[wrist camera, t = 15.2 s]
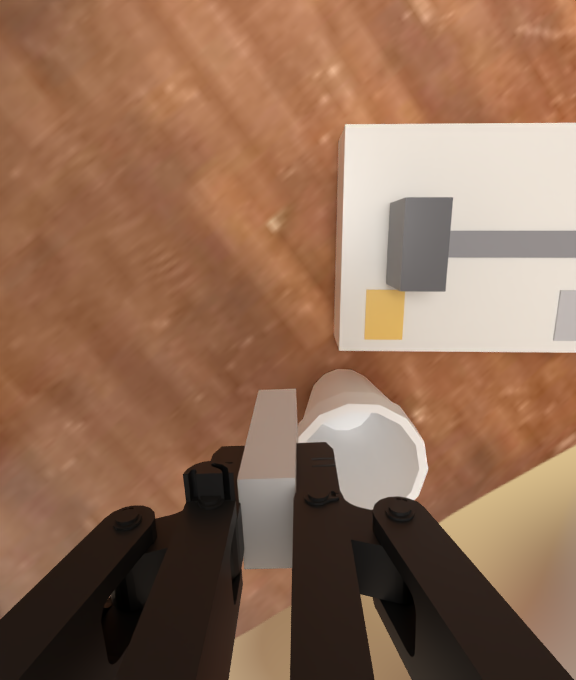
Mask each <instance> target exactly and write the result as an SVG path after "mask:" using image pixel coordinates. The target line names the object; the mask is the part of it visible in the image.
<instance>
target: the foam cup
mask: <svg viewBox="0 0 576 680" xmlns="http://www.w3.org/2000/svg"><path fill="white" fill-rule="evenodd" d="M311 442H326V443H327V444H328V445H329V446H330V447H331V448H333V451H334V457H335V463H336V469H337V475H338V481H339V487H340V491H341V493H342V495H343V497H344V499H345V500H346V501H347V502H349V503H350V504H353V505H355V506H357V507H361V508H365V509H370V510H373V507H374V504H375V503H377V502H378V501H379V500H380V499H383V498H387V497H396V496H399V497H405V498H409V499H412V500H415V499H416V498H417V497H418V496H419V493H420V490H421V488H422V485H423V482H424V480H425V477H426V474H427V471H428V465H427V458H426V451H425V444H424V441H423V439H422V437H421V436H420V434H419V432H418V431H417V429H416V427H415V426H414V425H413V423H412V422H411V421H410V419H409V418H408V417H407V415H406V414H405V413H404V411H403V410H402V408H401V407H400V406H399V405H397V404H395V403H393V402H391V401H390V400H389V399H388V398H387V397H386V396H385V395H384V394H383V393H382V392H381V391H380V390H379V389H378V388H376V387H375V386H374V385H373V384H372V383H371V382H370V381H369V380H368V379H367V378H366V377H365V376H363V375H361V374H359V373H357V372H355V371H353V370H350V369H336V370H333V371H331V372H329V373H326V374H324V375H323V376H322V377H321V378H320V379H319V380H318V381H317V382H316V383H315V384H314V386H313V389H312V392H311V395H310V398H309V401H308V404H307V408H306V411H305V414H304V417H303V419H302V420H301V421H300V422H299V424H298V443H311Z"/></svg>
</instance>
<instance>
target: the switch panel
mask: <svg viewBox="0 0 576 680" xmlns="http://www.w3.org/2000/svg"><path fill="white" fill-rule="evenodd" d="M405 197H453V206H452V218H451V230H450V242H449V255H448V267H447V279H446V291H445V292H416V291H398V290H397V289H395V288H393V287H391V286H389V285H388V284H386V275H387V255H388V236H389V216H390V203H392V202H394V201H397V200H400V199H402V198H405ZM334 337H335V340H336V343H337V346H338V349H339V351H440V352H575V353H576V123H481V124H345V127H344V129H343V132H342V134H341V136H340V139H339V142H338V182H337V223H336V263H335V304H334Z"/></svg>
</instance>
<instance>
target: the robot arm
mask: <svg viewBox="0 0 576 680" xmlns="http://www.w3.org/2000/svg"><path fill="white" fill-rule="evenodd" d="M183 478H184V487H185V496H186V504H185V506H184V509H183V511H181V512H179V513H176V514H173V515H169V516H165V517H161V518H157V519H155V514H154V511H153V510H152V509H151V508H149V507H145V506H129V507H124V508H122V509H119V510H117V511H115V512H113V513H111V514H110V515H109V516H107V517H106V518H105V519H104V520H103V521H102V522H101V523H100V524H99V525H97V526H96V527H95V528H94V529H93V530H92V531H91V532H90V533H89V534H88V535H87V536H86V537H85V538H84V539H83V540H82V541H81V542H80V543H79V544H78V545H77V546H76V547H75V548H74V549H73V550H72V551H71V552H70V553H69V554H68V555H67V556H66V557H64V558H63V559H62V560H61V561H60V562H59V563H58V564H57V565H56V566H55V567H54V568H53V569H52V570H51V571H50V572H49V573H48V574H47V575H46V576H45V577H44V578H43V579H42V580H41V581H40V582H39V583H38V584H37V585H36V586H35V587H34V588H32V589H31V590H30V591H29V592H28V593H27V594H26V595H25V596H24V597H23V598H22V599H21V600H20V601H19V602H18V603H17V604H16V605H15V606H14V607H13V608H12V609H11V610H10V611H9V612H8V613H7V614H6V615H5V616H4V617H3V618H2V619H0V680H228V679H229V672H230V665H231V659H232V652H233V645H234V639H235V632H236V626H237V619H238V612H239V606H240V599H241V592H242V586H243V581H242V569H241V567H242V561H243V557H244V569H271V568H292V607H291V608H292V609H291V664H290V680H374V674H373V668H372V662H371V656H370V651H369V644H368V639H367V633H366V627H365V621H364V615H363V609H362V603H361V598H360V594H362V595H366V596H370V597H373V601H374V605H375V608H376V609H377V611H378V614H379V615H380V617H381V619H382V622H383V623H384V625H385V627H386V629H387V631H388V633H389V635H390V637H391V639H392V641H393V643H394V645H395V647H396V649H397V651H398V653H399V655H400V657H401V659H402V661H403V663H404V665H405V667H406V669H407V670H408V673H409V675H410V677H411V679H412V680H574V679H573V678H572V677H571V676H570V675H569V673H568V672H567V671H566V670H565V669H564V668H563V667H562V665H561V664H560V663H559V662H558V661H557V660H556V658H555V657H554V656H553V655H552V654H551V653H550V651H549V650H548V649H547V648H546V647H545V646H544V645H543V643H542V642H541V641H540V640H539V639H538V638H537V637H536V635H535V634H534V633H533V632H532V631H531V630H530V628H529V627H528V626H527V625H526V624H525V623H524V622H523V620H522V619H521V618H520V617H519V616H518V615H517V613H516V612H515V611H514V610H513V609H512V608H511V607H510V605H509V604H508V603H507V602H506V601H505V600H504V598H503V597H502V596H501V595H500V594H499V593H498V592H497V591H496V589H495V588H494V587H493V586H492V585H491V584H490V582H489V581H488V580H487V579H486V578H485V577H484V575H483V574H482V573H481V572H480V571H479V570H478V569H477V567H476V566H475V565H474V564H473V563H472V562H471V560H470V559H469V558H468V557H467V556H466V555H465V554H464V552H462V550H461V549H460V548H459V547H458V546H457V544H456V543H455V542H454V541H453V540H452V539H451V538H450V536H449V535H448V534H447V533H446V532H445V531H444V529H442V527H441V526H440V525H439V524H438V522H437V521H436V520H435V519H434V518H433V517H432V516H431V514H430V513H429V512H428V511H427V510H426V509H425V508H424V507H423V506H422V505H421V504H420V503H418V502H417V501H414V500H412V499H409V498H405V497H399V496H396V497H387V498H383V499H380V500H379V501H378V502H377V503H375V504H374V507H373V510H370V509H365V508H361V507H357V506H355V505H353V504H350V503H349V502H347V501H346V500H345V499H344V497H343V495H342V493H341V491H340V487H339V481H338V475H337V469H336V463H335V457H334V451H333V448H331V447H330V446H329V445H328V444H327V443H326V442H311V443H298V424H297V402H296V389H274V390H259V391H258V395H257V399H256V403H255V407H254V411H253V416H252V420H251V424H250V428H249V432H248V436H247V440H246V445H245V446H225V447H221V448H220V449H219V450H218V451H216V452H215V453H214V454H213V456H212V459H211V461H207V462H202V463H199V464H196V465H193V466H192V467H190V468H188V469H187V470H186V471H185V473H184V474H183ZM110 595H111V596H110ZM109 596H110V598H109ZM108 598H109V599H108Z"/></svg>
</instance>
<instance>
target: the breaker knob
mask: <svg viewBox="0 0 576 680" xmlns="http://www.w3.org/2000/svg"><path fill="white" fill-rule="evenodd" d="M452 206H453V197H405V198H402V199H400V200H397V201H394V202H392V203H390V216H389V236H388V255H387V275H386V284H388V285H389V286H391V287H393V288H395V289H397V290H398V291H416V292H445V291H446V279H447V267H448V255H449V242H450V230H451V218H452Z"/></svg>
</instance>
